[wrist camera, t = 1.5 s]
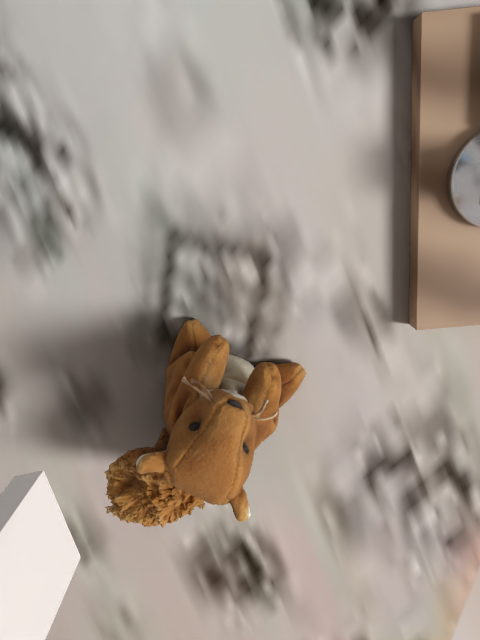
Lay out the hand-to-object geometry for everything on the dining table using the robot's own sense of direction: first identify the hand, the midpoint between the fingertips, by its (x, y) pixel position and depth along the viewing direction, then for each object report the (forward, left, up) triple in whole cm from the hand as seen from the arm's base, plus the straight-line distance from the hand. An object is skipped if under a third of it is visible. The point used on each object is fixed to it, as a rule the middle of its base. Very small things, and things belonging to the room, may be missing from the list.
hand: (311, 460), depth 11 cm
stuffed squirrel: (+9, -5, -23) cm, 25 cm away
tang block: (-6, +16, -23) cm, 28 cm away
